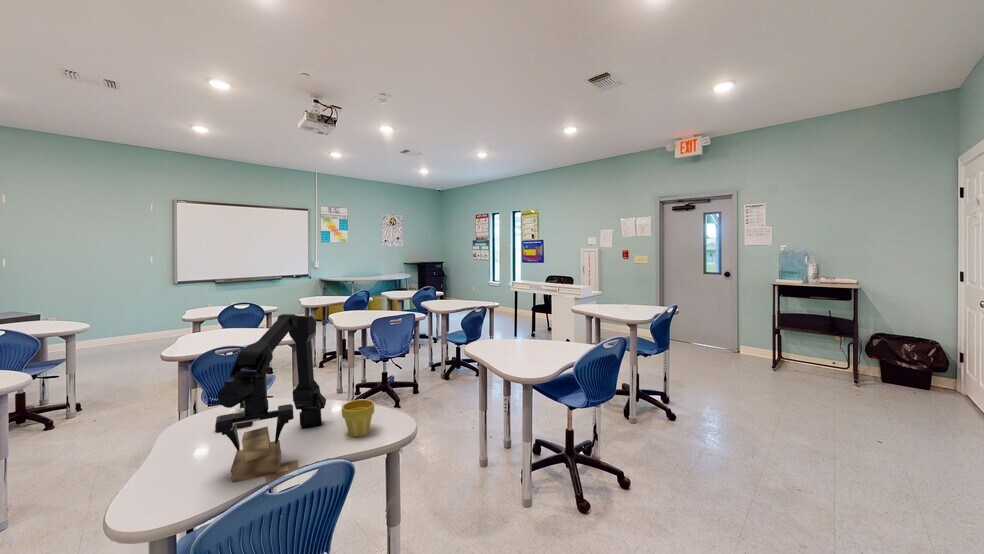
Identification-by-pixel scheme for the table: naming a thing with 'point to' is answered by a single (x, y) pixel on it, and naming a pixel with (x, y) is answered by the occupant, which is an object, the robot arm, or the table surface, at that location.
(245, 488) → the table surface
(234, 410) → the white lumpy chunk
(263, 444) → the oak cube
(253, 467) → the tan flat square block
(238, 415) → the brick
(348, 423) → the plant pot
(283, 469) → the swatch
